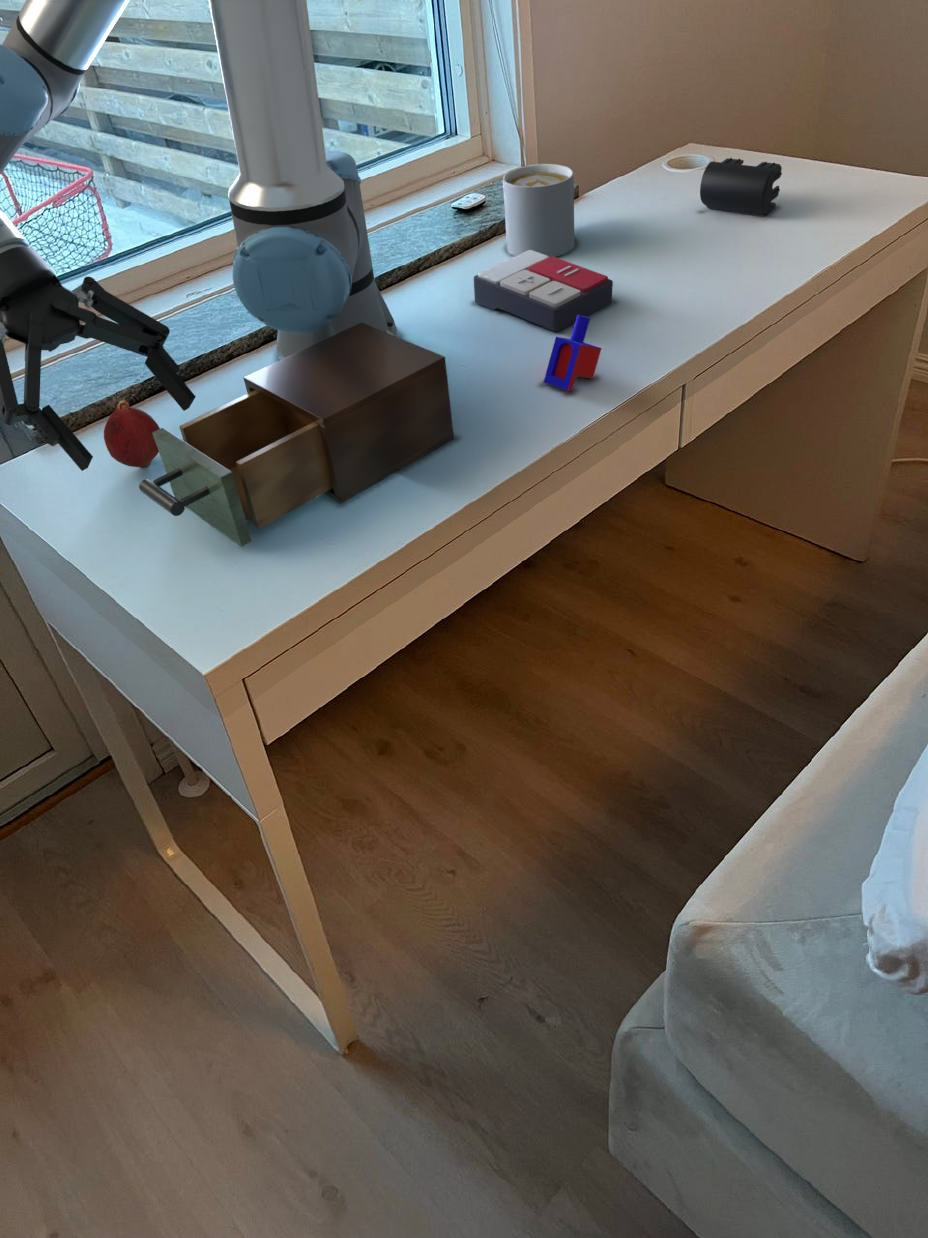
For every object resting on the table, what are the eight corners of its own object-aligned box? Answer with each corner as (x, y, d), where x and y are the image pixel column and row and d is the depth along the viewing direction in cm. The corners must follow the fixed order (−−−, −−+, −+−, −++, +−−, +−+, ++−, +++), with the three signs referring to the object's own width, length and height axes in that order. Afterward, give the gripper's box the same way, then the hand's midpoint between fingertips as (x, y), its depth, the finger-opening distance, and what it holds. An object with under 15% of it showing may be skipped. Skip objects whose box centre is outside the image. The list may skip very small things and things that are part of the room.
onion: (139, 487, 102) (114, 421, 96) (106, 473, 105) (80, 407, 99) (181, 461, 105) (159, 395, 100) (148, 447, 108) (125, 383, 103)
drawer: (204, 568, 89) (179, 498, 83) (138, 518, 96) (112, 450, 91) (361, 480, 97) (348, 411, 92) (290, 439, 105) (274, 374, 99)
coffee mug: (546, 264, 137) (544, 191, 130) (493, 251, 142) (488, 180, 135) (601, 232, 144) (601, 161, 137) (548, 221, 149) (546, 153, 142)
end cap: (697, 214, 146) (700, 167, 141) (717, 199, 150) (721, 152, 145) (760, 223, 141) (766, 174, 136) (780, 207, 145) (785, 159, 140)
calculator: (556, 304, 118) (471, 270, 126) (555, 337, 120) (473, 302, 129) (614, 274, 123) (529, 243, 131) (613, 306, 126) (530, 274, 134)
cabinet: (340, 504, 96) (322, 419, 90) (264, 457, 104) (242, 377, 98) (454, 439, 103) (445, 356, 97) (374, 400, 111) (361, 321, 105)
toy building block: (588, 392, 111) (608, 322, 108) (567, 390, 108) (587, 318, 105) (564, 384, 113) (584, 315, 110) (543, 382, 110) (562, 311, 107)
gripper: (-112, 293, 88) (45, 476, 91) (108, 204, 102) (238, 364, 105) (-113, 336, 94) (34, 506, 97) (94, 246, 108) (218, 397, 111)
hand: (140, 433), depth 101 cm, fingers open, 13 cm apart
